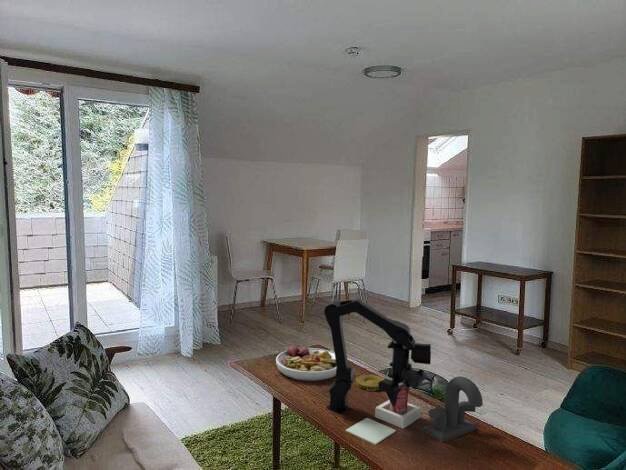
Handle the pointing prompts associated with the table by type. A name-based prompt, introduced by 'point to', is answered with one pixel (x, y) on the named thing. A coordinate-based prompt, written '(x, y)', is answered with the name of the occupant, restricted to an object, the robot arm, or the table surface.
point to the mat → (370, 431)
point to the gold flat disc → (369, 382)
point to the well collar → (396, 419)
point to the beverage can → (400, 401)
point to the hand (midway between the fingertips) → (398, 403)
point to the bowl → (307, 363)
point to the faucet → (454, 410)
